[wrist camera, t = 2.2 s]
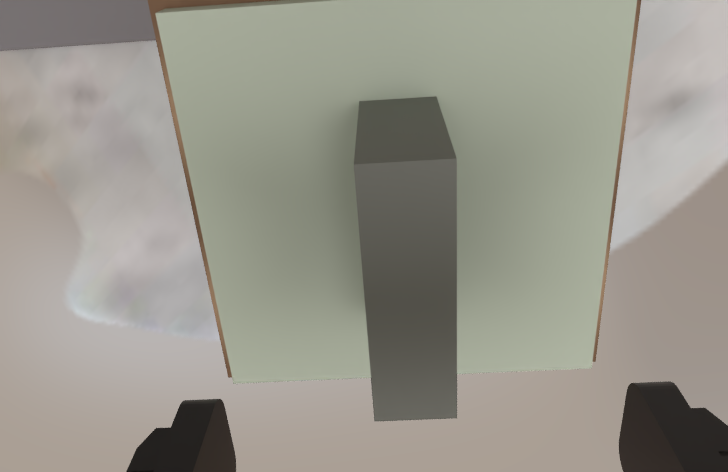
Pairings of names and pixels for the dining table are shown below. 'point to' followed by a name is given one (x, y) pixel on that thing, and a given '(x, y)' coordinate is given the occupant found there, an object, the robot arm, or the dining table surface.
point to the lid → (402, 184)
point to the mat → (72, 23)
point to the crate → (157, 3)
